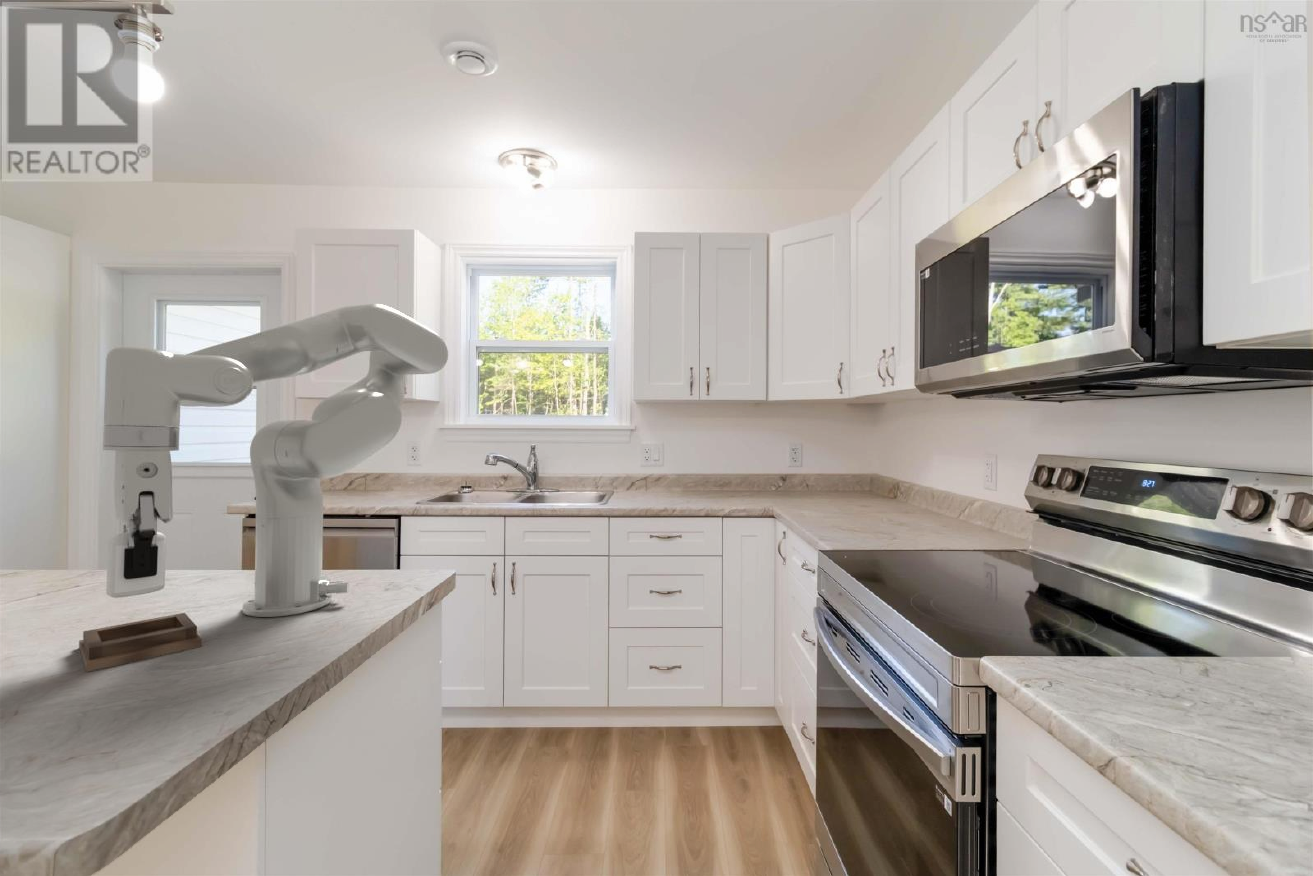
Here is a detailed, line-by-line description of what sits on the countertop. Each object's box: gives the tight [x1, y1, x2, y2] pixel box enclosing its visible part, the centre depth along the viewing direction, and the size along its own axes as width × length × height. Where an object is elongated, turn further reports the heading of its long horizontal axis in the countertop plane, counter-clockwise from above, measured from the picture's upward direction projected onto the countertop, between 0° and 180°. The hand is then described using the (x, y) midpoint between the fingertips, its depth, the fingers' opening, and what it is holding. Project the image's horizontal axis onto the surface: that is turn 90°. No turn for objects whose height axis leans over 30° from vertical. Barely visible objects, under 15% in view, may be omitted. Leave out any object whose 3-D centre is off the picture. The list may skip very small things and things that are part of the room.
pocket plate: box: [78, 612, 203, 673], centre depth 74 cm, size 11×11×2 cm
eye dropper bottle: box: [105, 504, 167, 599], centre depth 74 cm, size 4×6×12 cm
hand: (138, 573), depth 74 cm, fingers closed on eye dropper bottle, 3 cm apart
